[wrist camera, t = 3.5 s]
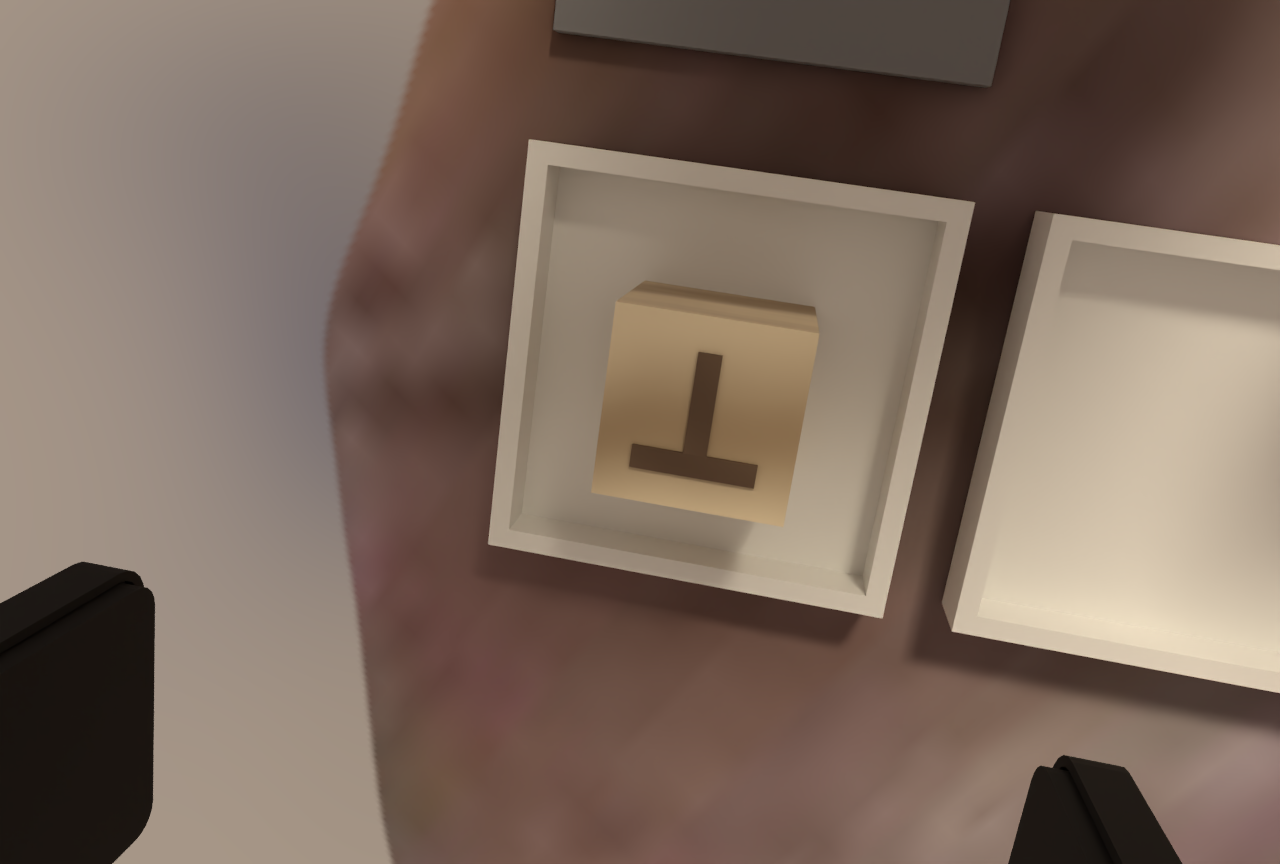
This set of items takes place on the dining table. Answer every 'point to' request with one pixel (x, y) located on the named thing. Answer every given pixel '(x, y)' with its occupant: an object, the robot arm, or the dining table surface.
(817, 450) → the tray
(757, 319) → the letter cube
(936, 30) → the pad
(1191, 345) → the tray
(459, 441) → the dining table surface
